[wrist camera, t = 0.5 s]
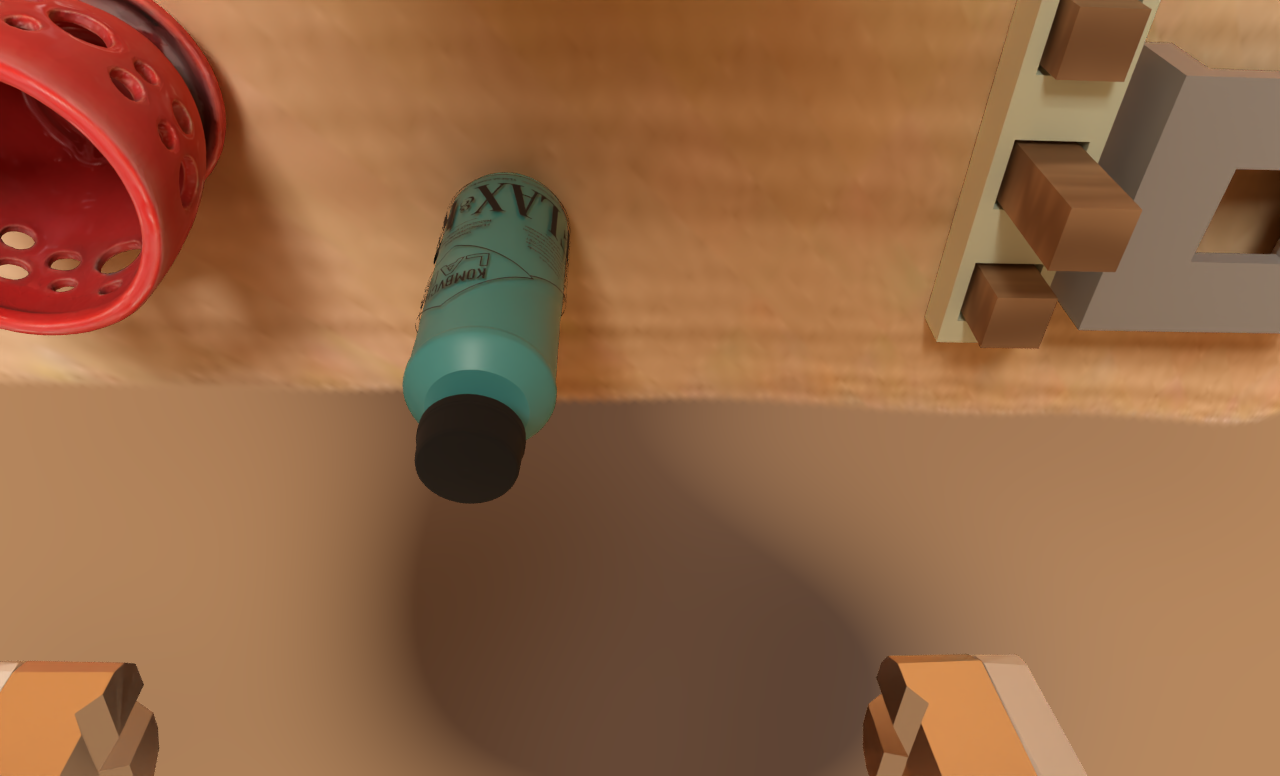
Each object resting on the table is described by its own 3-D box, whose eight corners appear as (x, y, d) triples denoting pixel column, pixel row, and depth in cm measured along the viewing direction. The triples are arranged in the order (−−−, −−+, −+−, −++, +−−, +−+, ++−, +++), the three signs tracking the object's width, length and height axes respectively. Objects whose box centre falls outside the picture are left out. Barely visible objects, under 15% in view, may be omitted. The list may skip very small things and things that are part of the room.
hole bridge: (1140, 42, 44) (1186, 75, 41) (1413, 51, 45) (1482, 85, 42) (1047, 285, 53) (1078, 330, 50) (1277, 289, 54) (1324, 334, 50)
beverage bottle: (596, 207, 49) (594, 466, 33) (517, 284, 52) (482, 555, 36) (501, 128, 46) (450, 372, 31) (423, 214, 49) (341, 477, 33)
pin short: (1045, -20, 42) (1080, 6, 39) (1111, -17, 43) (1151, 9, 40) (1024, 50, 44) (1055, 80, 41) (1087, 52, 45) (1124, 82, 42)
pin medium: (964, 243, 51) (997, 297, 47) (1020, 245, 51) (1058, 298, 47) (950, 291, 53) (980, 347, 49) (1003, 292, 53) (1038, 348, 49)
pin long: (1001, 124, 47) (1071, 208, 40) (1062, 126, 47) (1142, 210, 40) (984, 182, 49) (1048, 270, 42) (1042, 183, 49) (1115, 272, 42)
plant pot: (-107, -16, 41) (-316, 83, 32) (161, -89, 39) (25, -8, 30) (69, 234, 49) (-55, 371, 40) (297, 181, 48) (224, 311, 38)
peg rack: (1035, -62, 41) (1056, -48, 39) (1150, -57, 42) (1177, -43, 40) (924, 317, 54) (936, 342, 52) (1012, 318, 55) (1028, 343, 53)
